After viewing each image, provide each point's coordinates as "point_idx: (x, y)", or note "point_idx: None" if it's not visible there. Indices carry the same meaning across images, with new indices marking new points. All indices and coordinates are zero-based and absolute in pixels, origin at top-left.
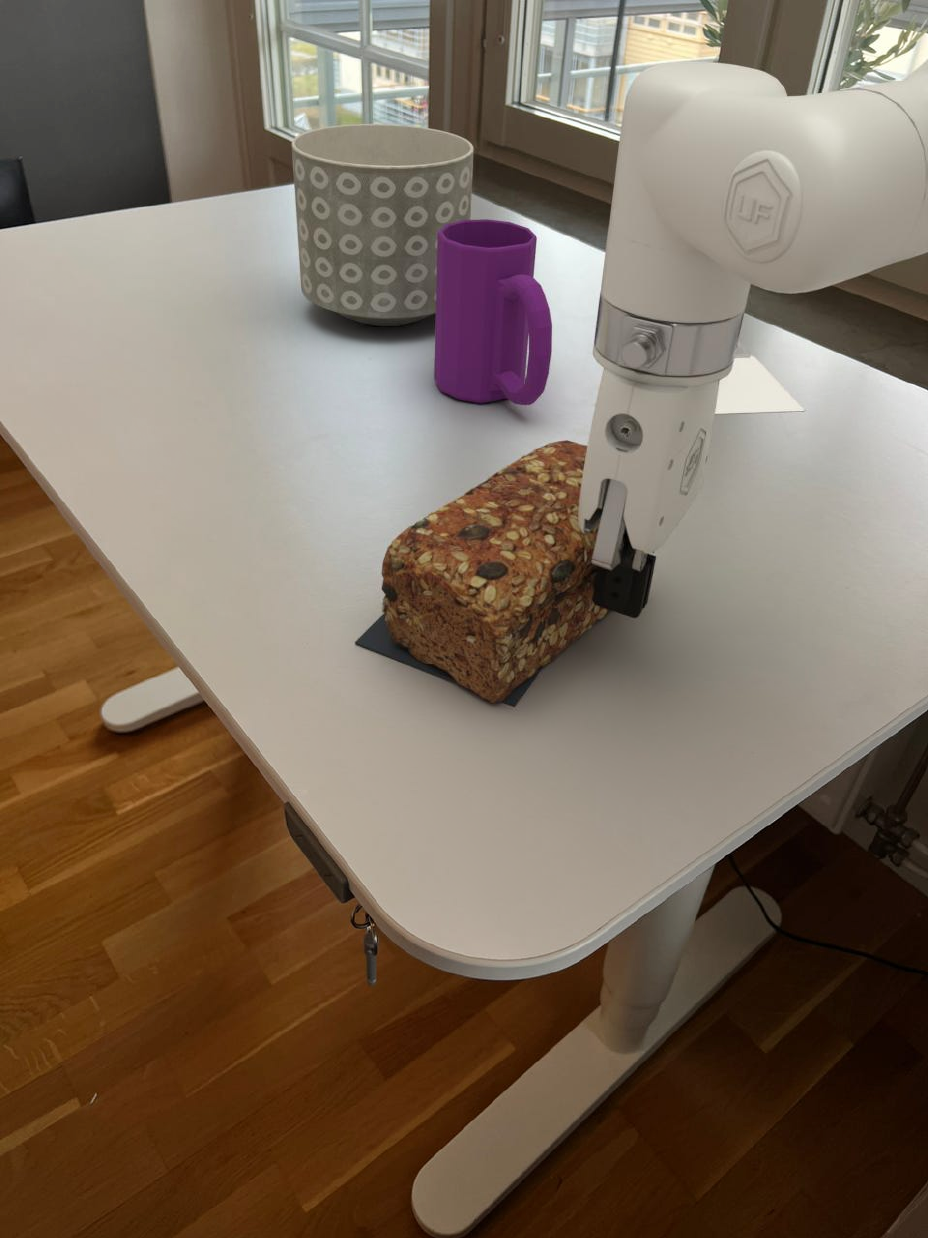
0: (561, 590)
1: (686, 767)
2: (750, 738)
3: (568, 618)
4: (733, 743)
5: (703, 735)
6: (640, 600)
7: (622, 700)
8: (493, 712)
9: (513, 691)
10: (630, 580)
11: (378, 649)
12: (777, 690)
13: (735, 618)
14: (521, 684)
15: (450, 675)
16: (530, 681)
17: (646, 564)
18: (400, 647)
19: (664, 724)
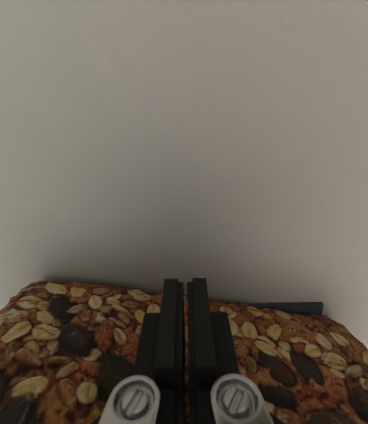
0: (287, 414)
1: (345, 100)
2: (251, 33)
3: None
4: (273, 54)
5: (276, 100)
6: (208, 301)
7: (258, 214)
8: (336, 313)
9: (303, 312)
10: (230, 358)
11: None
12: (124, 27)
13: (6, 143)
14: (290, 311)
15: None
16: (280, 306)
17: (200, 372)
18: None
19: (277, 154)
